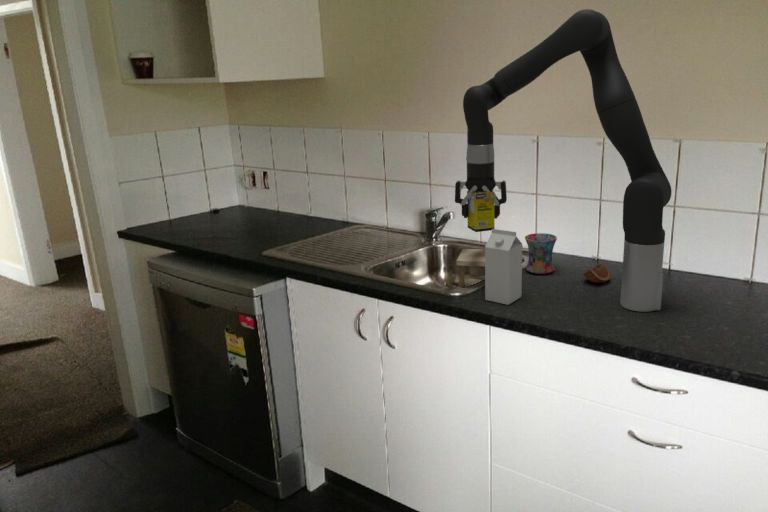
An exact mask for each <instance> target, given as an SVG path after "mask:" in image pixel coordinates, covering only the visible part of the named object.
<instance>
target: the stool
mask: <svg viewBox="0 0 768 512" xmlns="http://www.w3.org/2000/svg"><path fill="white" fill-rule="evenodd" d="M456 266H458V288H465V279H467V280H470V279H471V280H485V274H470V269H480V270H481V269H483V270H485V248H484V249H483V248H481V249H480V248H478V249H477V248H462V250H461V251H460V253H459V255H458V257H457V259H456Z"/></svg>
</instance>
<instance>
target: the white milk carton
mask: <svg viewBox="0 0 768 512" xmlns="http://www.w3.org/2000/svg"><path fill="white" fill-rule="evenodd" d="M484 247H485V248H484V249H485V269H484V270H485V271H484V273H485V274H484V275H485V279H484V282H485V283H484V288H485V289H484V296H485V298H484V299H485V301H489V302H493V303H498V304H504V305H507V306H508V305H511V304H512V303H513V302H515V301H517V300H518V299H520V298H522V293H523V292H522V289H523V288H522V284H523V283H522V281H523V278H522V277H523V274H522V273H523V243H522V241H521V240H520V239H519V238H518V237H517V231H511V230H504V229H497V228H494V229H492V230H491V233H490V236H489V238H488V240H487V242H486V244H485V245H484Z"/></svg>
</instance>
